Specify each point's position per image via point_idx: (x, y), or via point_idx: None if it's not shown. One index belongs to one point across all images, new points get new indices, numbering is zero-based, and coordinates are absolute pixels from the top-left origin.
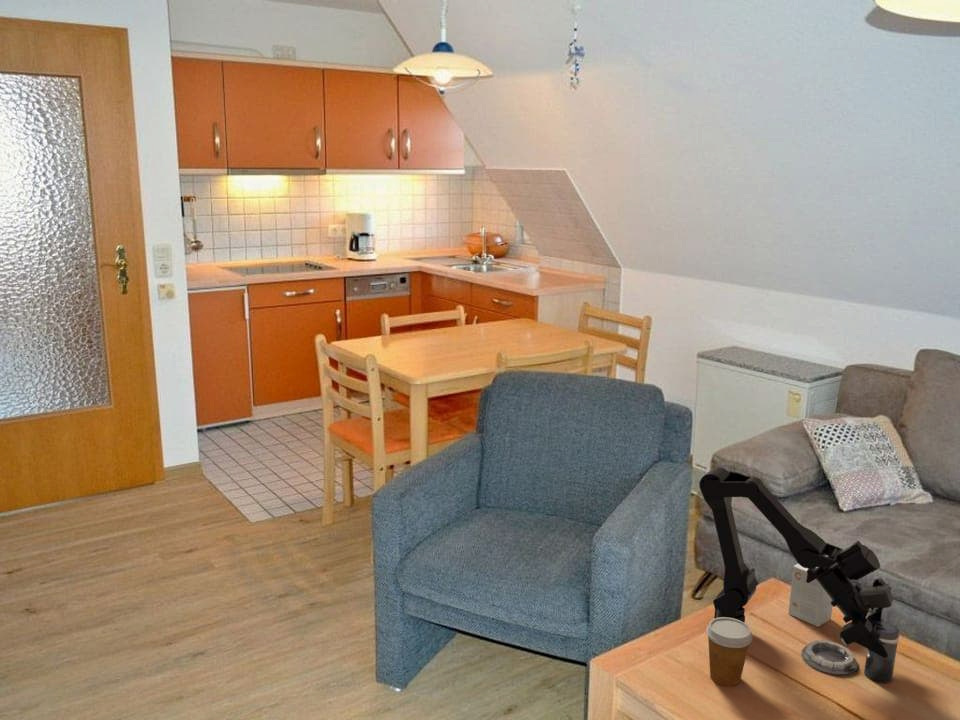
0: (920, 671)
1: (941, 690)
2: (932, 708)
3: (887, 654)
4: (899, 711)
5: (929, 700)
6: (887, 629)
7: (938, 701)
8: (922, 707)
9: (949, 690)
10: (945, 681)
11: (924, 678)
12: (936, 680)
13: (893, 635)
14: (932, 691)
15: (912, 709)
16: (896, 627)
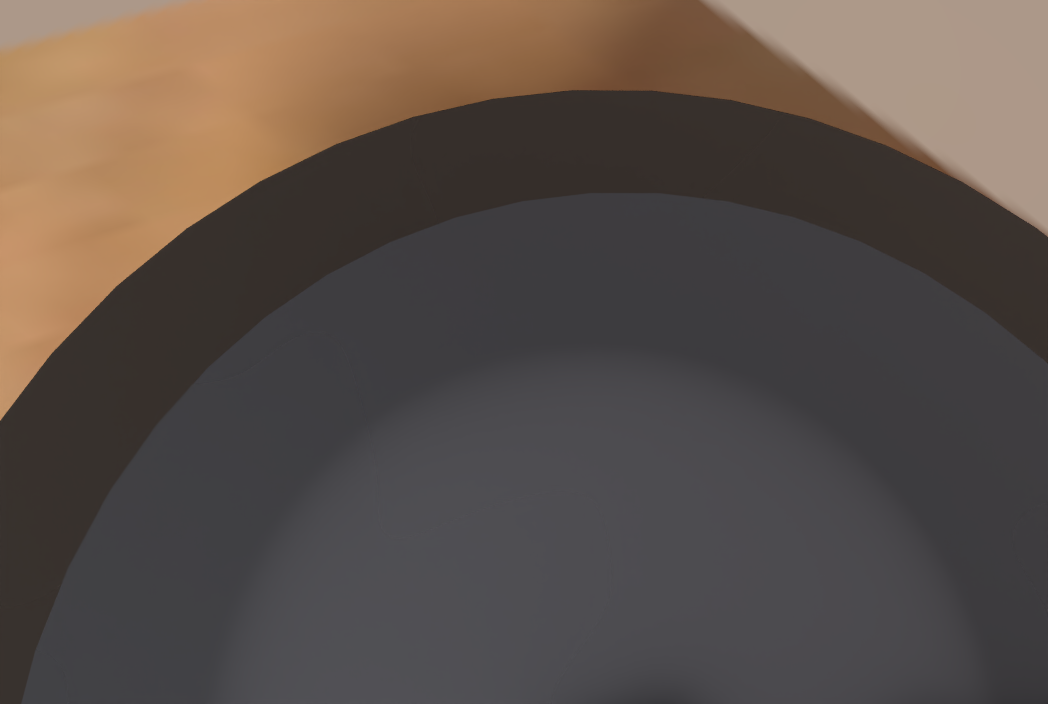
0: (11, 338)
1: (261, 62)
2: (661, 18)
3: None
4: (992, 197)
5: (548, 78)
6: (757, 545)
7: (493, 20)
8: (727, 81)
9: (199, 13)
10: (41, 89)
11: (144, 253)
12: (90, 155)
13: (912, 177)
14: (353, 112)
15: (845, 129)
16: (75, 352)
